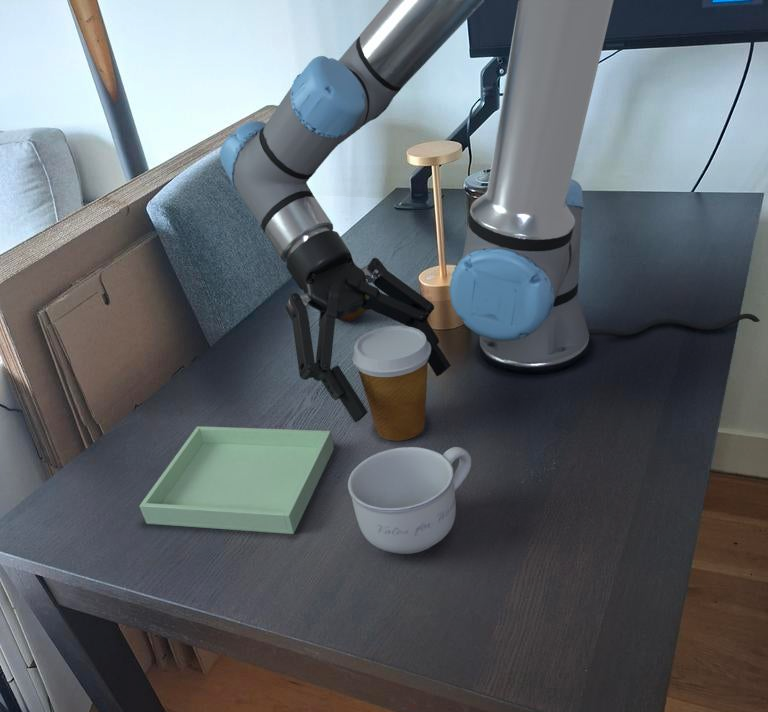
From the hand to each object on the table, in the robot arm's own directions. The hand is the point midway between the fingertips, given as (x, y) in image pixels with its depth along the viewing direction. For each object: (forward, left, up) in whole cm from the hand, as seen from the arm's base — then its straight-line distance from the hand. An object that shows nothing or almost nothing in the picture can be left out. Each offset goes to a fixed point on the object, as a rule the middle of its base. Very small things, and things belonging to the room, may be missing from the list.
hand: (404, 393), depth 93 cm
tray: (+16, +15, -6) cm, 22 cm away
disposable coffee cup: (+1, -1, -6) cm, 6 cm away
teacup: (-8, +17, -6) cm, 20 cm away
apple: (+20, -29, -6) cm, 36 cm away
